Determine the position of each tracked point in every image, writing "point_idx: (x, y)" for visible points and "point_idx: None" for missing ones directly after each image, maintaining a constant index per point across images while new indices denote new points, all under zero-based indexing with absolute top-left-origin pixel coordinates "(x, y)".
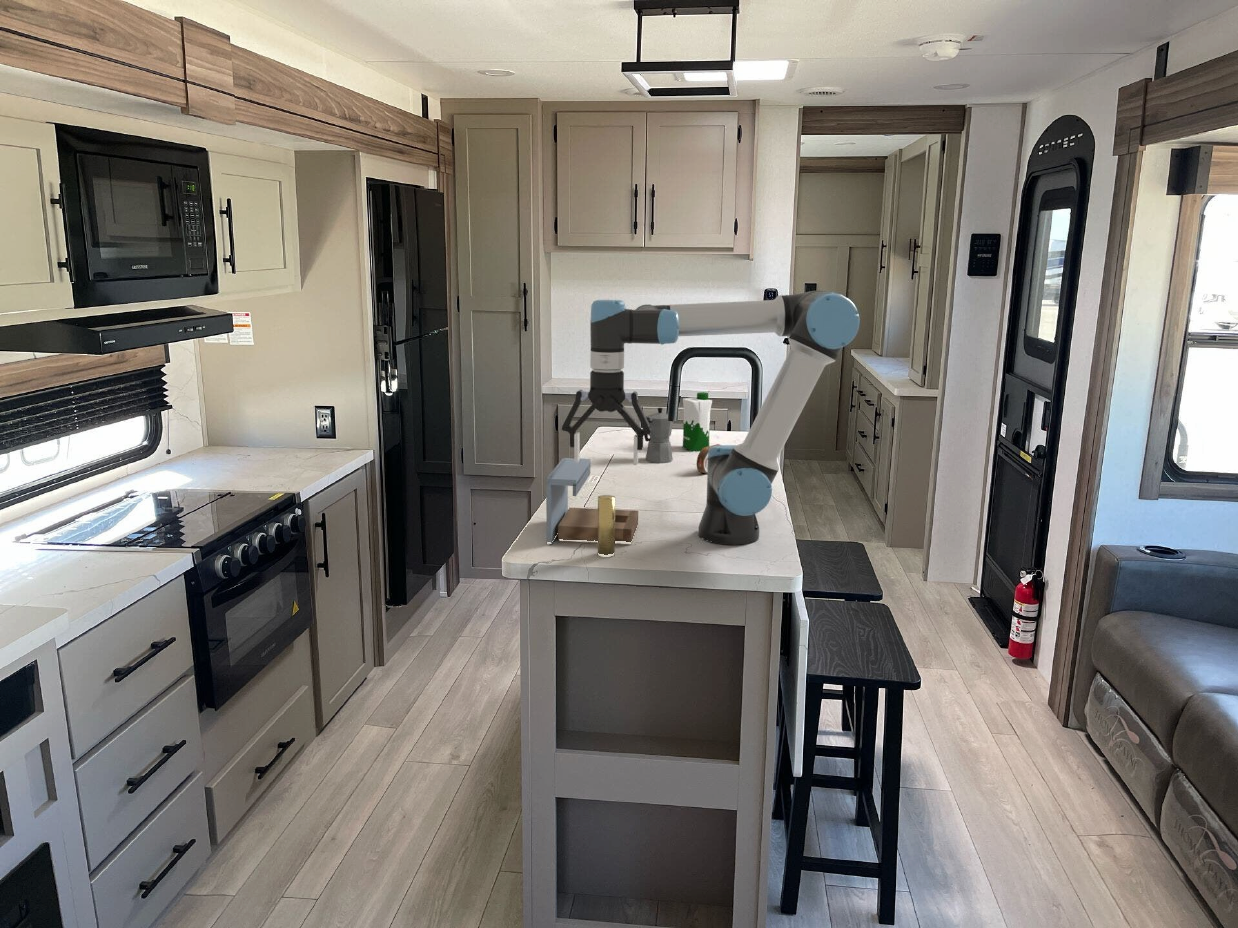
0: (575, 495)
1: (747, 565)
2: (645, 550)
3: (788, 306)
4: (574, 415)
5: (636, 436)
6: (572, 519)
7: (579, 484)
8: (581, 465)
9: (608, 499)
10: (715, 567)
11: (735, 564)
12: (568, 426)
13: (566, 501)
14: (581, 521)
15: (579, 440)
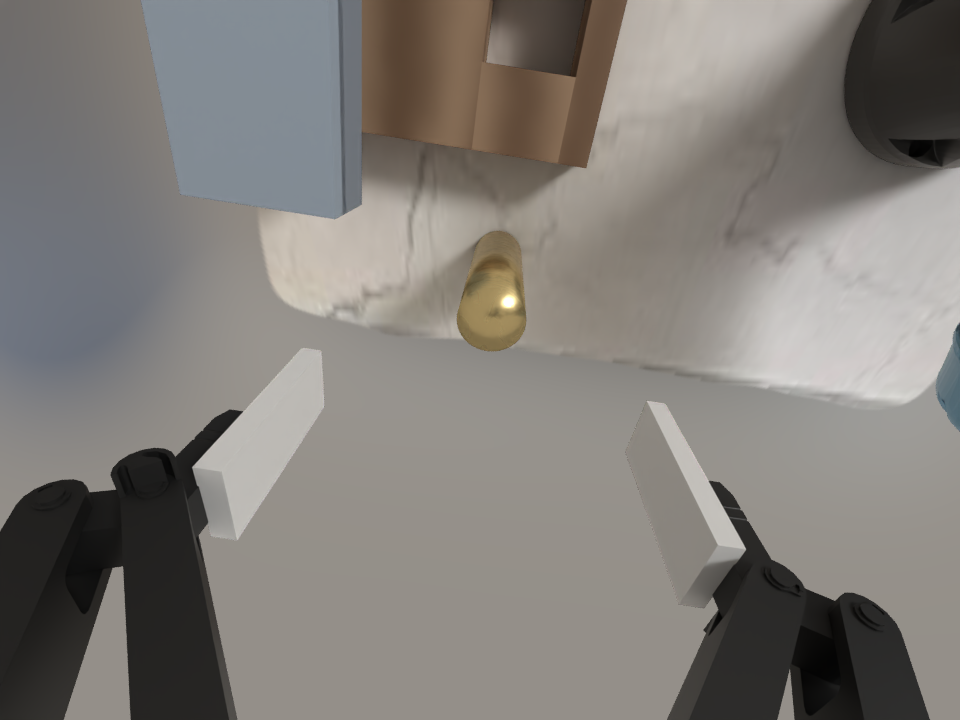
0: (358, 205)
1: (851, 336)
2: (613, 216)
3: None
4: (29, 646)
5: (703, 598)
6: (365, 29)
7: (350, 96)
8: None
9: (498, 350)
10: (761, 347)
11: (823, 329)
12: (101, 566)
13: None
14: (404, 62)
15: (260, 428)
